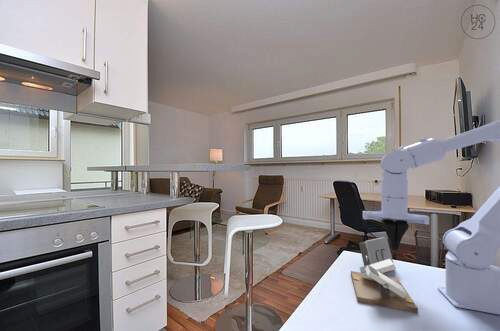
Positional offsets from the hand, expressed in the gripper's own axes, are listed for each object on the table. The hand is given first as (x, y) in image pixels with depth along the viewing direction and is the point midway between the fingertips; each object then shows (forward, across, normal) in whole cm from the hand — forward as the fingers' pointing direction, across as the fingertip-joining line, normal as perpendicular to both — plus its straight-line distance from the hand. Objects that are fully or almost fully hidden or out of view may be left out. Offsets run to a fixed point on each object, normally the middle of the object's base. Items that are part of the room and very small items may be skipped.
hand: (393, 248), depth 56 cm
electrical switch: (+10, +2, -9) cm, 13 cm away
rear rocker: (+5, +4, +2) cm, 7 cm away
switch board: (+9, +4, +4) cm, 11 cm away
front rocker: (+5, +4, +8) cm, 10 cm away
